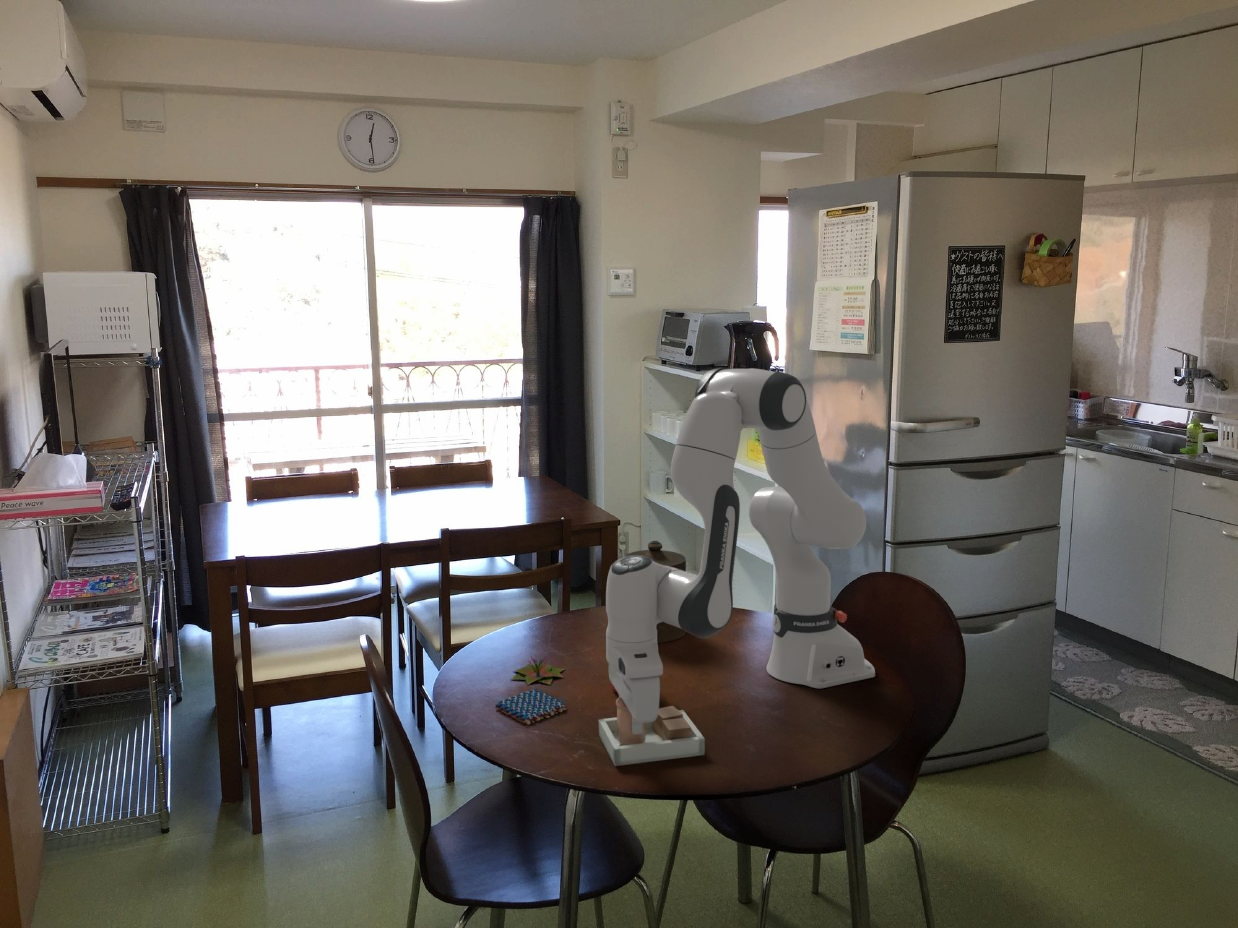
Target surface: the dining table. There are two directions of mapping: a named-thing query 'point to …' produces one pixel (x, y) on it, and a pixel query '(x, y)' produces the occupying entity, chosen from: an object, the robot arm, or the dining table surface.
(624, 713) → the pink lidded jar
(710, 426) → the robot arm
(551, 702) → the woven mat
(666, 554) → the wooden container
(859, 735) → the dining table surface
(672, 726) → the block
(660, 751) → the tray
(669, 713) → the block
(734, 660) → the dining table surface
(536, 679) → the lily flower
